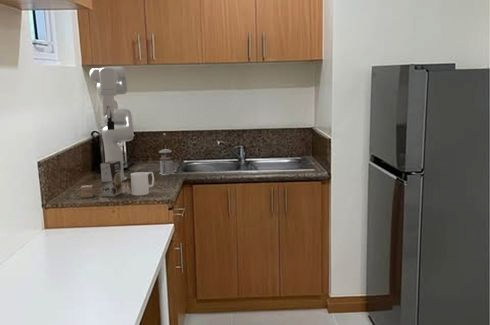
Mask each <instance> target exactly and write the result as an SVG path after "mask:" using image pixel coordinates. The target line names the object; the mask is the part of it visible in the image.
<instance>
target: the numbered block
mask: <svg viewBox="0 0 490 325" xmlns="http://www.w3.org/2000/svg"><path fill="white" fill-rule="evenodd" d="M94 196H95V195H94V185H93V184H89V185H81V186H80V197H81V198H83V199H86V198H93V197H94Z"/></svg>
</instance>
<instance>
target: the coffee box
mask: <svg viewBox="0 0 490 325" xmlns="http://www.w3.org/2000/svg"><path fill="white" fill-rule="evenodd" d="M100 176H101V177H100V178H101V189H102V190H101V192H102V197H116V196H119V195H121V194H122V193H123V181H122V178H121V163H120V161H109V162H102V163H100Z"/></svg>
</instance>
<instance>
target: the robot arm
mask: <svg viewBox="0 0 490 325" xmlns="http://www.w3.org/2000/svg"><path fill="white" fill-rule="evenodd" d="M89 80H90V82H91V83H92V84H96V92H97V96H98V99H99V100H100V103H101V104H102V117H103V118H102V119H103V122H104V124H105V126H104V127H102V129H101V136H102V141H103V148H104V158H105V160H104V161H105V162H109V161H120V163H121V178H122V182H123V181H127V176H125V175H124V174H125V173H124V164H123V163H124V162H123V161H124V160H123V149H122V147H121V146H120V145H119V144H118V143H121V142H130V141H132V140H133V139H134V137H135V136H134V125H133V122H134V121H133V116H132V112H131V111H130V110H129V108H128V109H126V108H119V106H118V105H119V104H118V102H117V101H116V99H115V97H117V95H118V96H119V95H120V96H121V95H126V94H127V93H128V90H129V89H128V87H129V86H128V72H127V70H126V69H125V67H124V66H103V67H97V68H91V69H90V70H89ZM105 162H104V163H105Z"/></svg>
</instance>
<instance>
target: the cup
mask: <svg viewBox="0 0 490 325" xmlns="http://www.w3.org/2000/svg"><path fill="white" fill-rule="evenodd" d="M150 174H151V178H152V180H151V184H149V175H150ZM130 184H131V186H130V187H131V195H132V196H145V195H149V194H150V188H152V187H154V185H155V176H154V172H153V171H148V172H146V171H139V172H132V173H130Z"/></svg>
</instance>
